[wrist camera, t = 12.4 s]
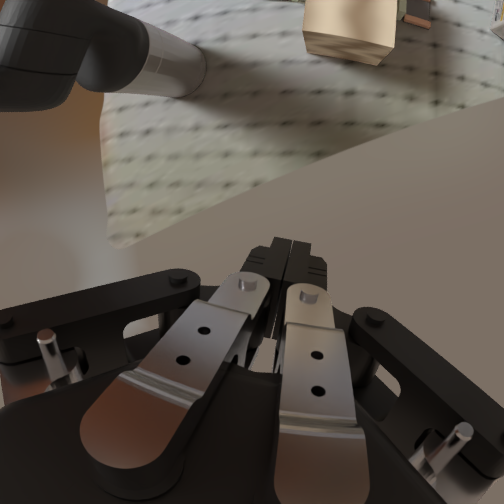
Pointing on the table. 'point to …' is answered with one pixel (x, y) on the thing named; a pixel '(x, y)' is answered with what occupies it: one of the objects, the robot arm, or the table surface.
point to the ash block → (350, 29)
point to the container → (498, 19)
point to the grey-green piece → (412, 12)
